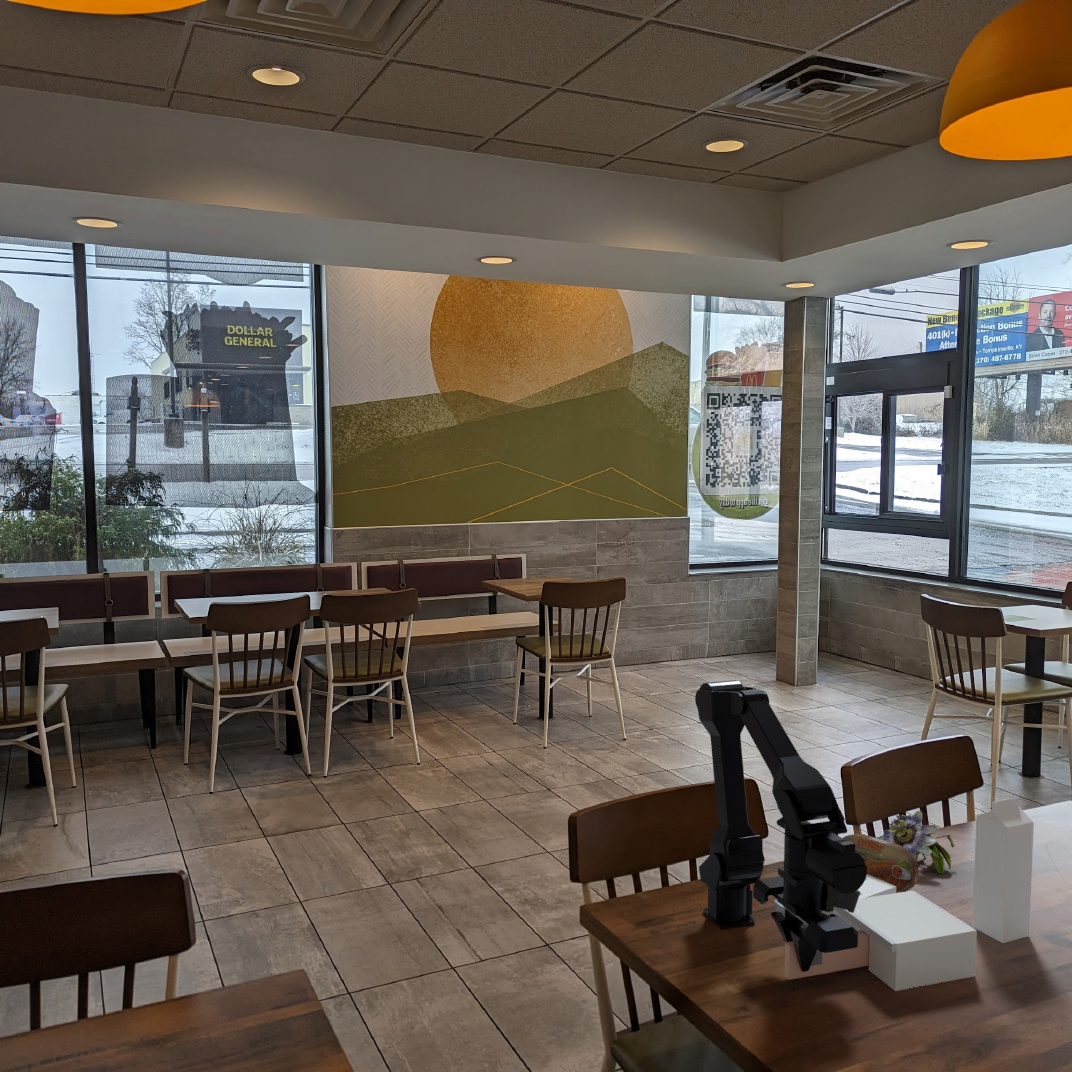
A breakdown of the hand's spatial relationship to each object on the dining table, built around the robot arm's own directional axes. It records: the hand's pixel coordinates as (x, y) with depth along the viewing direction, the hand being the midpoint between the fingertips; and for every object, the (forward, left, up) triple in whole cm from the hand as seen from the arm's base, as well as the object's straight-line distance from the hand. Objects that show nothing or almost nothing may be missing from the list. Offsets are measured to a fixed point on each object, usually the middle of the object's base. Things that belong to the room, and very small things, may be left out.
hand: (801, 968), depth 141 cm
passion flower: (+44, +30, -2) cm, 53 cm away
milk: (+39, +3, -2) cm, 39 cm away
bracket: (+22, +18, -2) cm, 28 cm away
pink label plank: (+9, 0, -1) cm, 9 cm away
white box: (+18, 0, -2) cm, 18 cm away
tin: (+31, +24, -2) cm, 39 cm away
